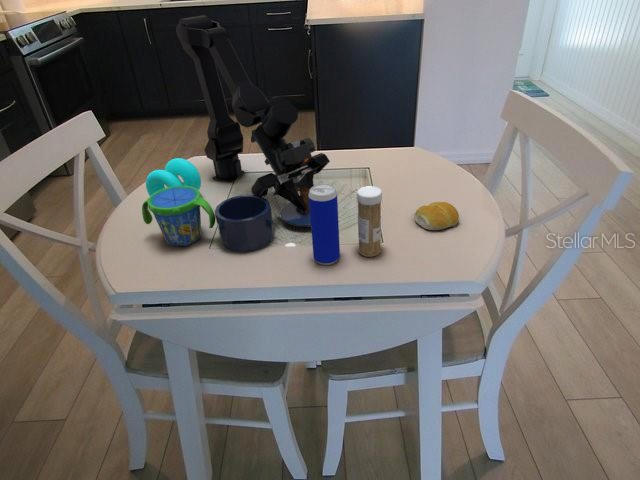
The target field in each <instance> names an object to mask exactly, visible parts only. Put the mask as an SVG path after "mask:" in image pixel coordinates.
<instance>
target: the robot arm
mask: <svg viewBox="0 0 640 480" xmlns="http://www.w3.org/2000/svg"><path fill="white" fill-rule="evenodd" d="M175 32H176V35H177V38H178V40H179V41H180V44H181V46H182V49H183V51H184V52H185V53H186V54H187V55H188V56H189V57H191V59H192V60H193V63H194V67H195V71H196V74H197V78H198V82H199V85H200V88H201V92H202V95H203V99H204V103H205V106H206V110H207V113H208V117H209V122H208V127H207V130H206V134H207V139H208V141H207V142H206V145H205V147H204V153H205V157H206V158H207V159H210V160H211V161H212V164H213V169H214V173H215V174H214V176H212V180H214V181H221V182H229V183H234V182H235V181H236V180H237V179H239V178H240V177H241V176H242V175H244V174H245V170H243V169H242V162H241V159H240V158H239V154H242V153H243V152H244V135H243V133H242V129H241V127H244V128H251V127H255V126H257V127H256V128H255V129H252V130H251V136H250V142H251V143H252V144H254V143H256V144H257V145H258V148H259V149H260V151H261V152H262V154H263V156H264V157H265V160H264V163H265V165H266V166H268V165H269V166H270V167H271V169H272V171H273V172H274V173H273V172H269V173H266V174H264V175H262V176H259V177H257V179H256V180H255V182H254V183H253V184H252V186H251V188H250V189H251V195H255V196H257V197H258V196H261V197H265V196H267V195H268V193H269V189H271V188H273V190H274V192H273V193H272V194H273V196H278V197H281V198H283V199H284V200H286V201H288V203H289V202H291V203H292V204H294V205H295V206H297V207H298V208H300V209H301V210H303V211H306V210H307V208H306V206H305V204H304V202H303V200H302V199H301V197H300V193H299V192H298V190H296V189H295V186H294V181H293V178H295V177H297V178H298V180H299V182H298V183H297V185H298V187H299V188H300V189H303V188H310V189H311V188H312V187H313V186H315V185H314V176H315V175H317V174H320V173H321V171H323V169H324V168H325V167H327V165H328V164H329V163H330V162H331V161H330V159H329V157H328V156H327V155H326V154H325V153H323V152H320V153H317V154H314V155H312V154H313V153H314V152H316V146H315V144H314V141H313V140H312V139H311V137H306V138H304V139H301V140H299V141H300V146H297V147H294V146H293V144H291V143H292V142H289V143H288V142H287V141H286V139H285V138H284V137H286V135H287V134H288V133H289V131H291V129H292V128H293V126H294V125H295V123H296V122H297V120H298V118H299V113H298V110H297V107H296V106H295V105H293V104H292V103H290V102H289V101H287V100H283V99H282V98H281V97H280V96H279V95H277V96H274V97H271V98H270V100H268V99H267V97H266V96H265V94H264V93H263V91H262V90H260V88H258V87H257V86H255V85H253V83H252V82H251V80H250V79H249V77H248V74H247V73H246V70H245V69H244V67H243V64H242V63H241V61H240V59H239V57H238V55H237V53H236V51H235V49H234V48H233V45H232V43H231V42H230V36H229V33H228V31H227V29H226V28H224V27H222V26H221V25H220V22H217V21H216V20H215V21H214V20H212V19H210V18H209V17H208V16H207V15H198V16H192V17H186V18H180V19H179V21H178V24H176V28H175ZM218 70H219V72H220V74H221V76H222V78H223V80H224V81H225V83H226V85H227V88H228V89H229V92H230V93H231V96H232V101H231V108H232V111H233V113H234V116H235V119H236V121H235V120H234V119H233V118H232V117H231V116H230V113H229V109H228V105H227V102H226V98H225V94H224V91H223V86H222V82H221V79H220V76H219V72H218ZM307 158H308V160H307V162H306V163H305V164H304V165H302V166H300V164H302V163H303V162H304V159H307ZM296 172H297V173H296ZM293 173H295V174H293Z"/></svg>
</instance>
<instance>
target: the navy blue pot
mask: <svg viewBox="0 0 640 480" xmlns="http://www.w3.org/2000/svg"><path fill="white" fill-rule="evenodd" d="M272 213H273V212H272V207H271V202H270V201H269V199H268V198H266V197H265V196H263V197H261V196H258V197H257V196H255V195H253V194H241V195H237V196H232V197H229V198H227V199H225V200H223V201H221V202H220V203H219V204H218V205H216V207H215V209H214V214H215V218H216V219H215V222H216V226H217V228H218V229H217V231H218V234H219V240H220V242H221V245H222V247H223V248H224V249H226V250H227V251H230V252H232V253H242V254H243V253H252V252H256V251H259V250H261V249H264V248H266V247H267V246H268V245H269V244H271V243H272V241H274V237H275V229H274V222H273V214H272Z"/></svg>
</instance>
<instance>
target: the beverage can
mask: <svg viewBox="0 0 640 480" xmlns="http://www.w3.org/2000/svg"><path fill="white" fill-rule="evenodd" d="M338 201H339V200H338V192H337V190H336V187H335V186H334V185H332V184H329V183H320V184H315V185H314V186H313V187H312V188H311V189H310V191H309V208H310V220H311V226H310V230H311V231H310V232H311V240H312V241H311V243H312V254H313V255H312V256H313V260H314V261H315V262H316V263H318V264H319V265H321V266H322V265H323V266H328V265H333V264H335V263H337V262H338V261H339V259H340V257H341V249H340V227H339V205H338V204H339V203H338Z"/></svg>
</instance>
